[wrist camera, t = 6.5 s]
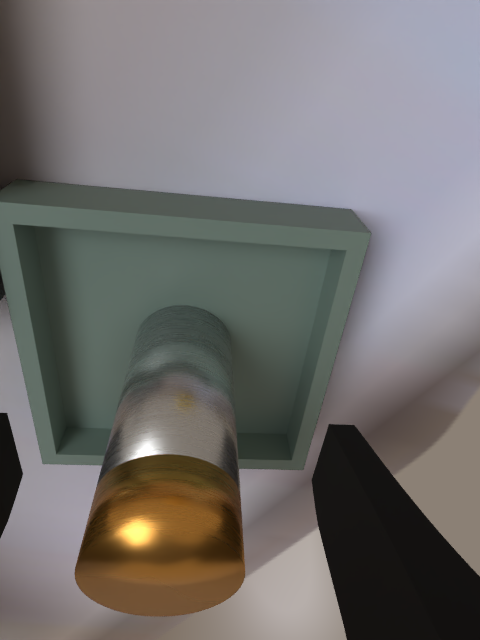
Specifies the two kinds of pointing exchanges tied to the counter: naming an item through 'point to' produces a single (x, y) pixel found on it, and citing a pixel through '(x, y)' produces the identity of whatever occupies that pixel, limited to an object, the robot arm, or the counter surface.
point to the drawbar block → (1, 287)
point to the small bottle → (169, 476)
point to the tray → (174, 289)
